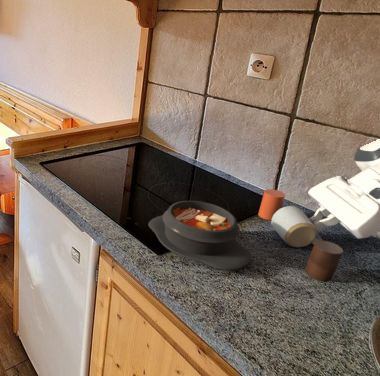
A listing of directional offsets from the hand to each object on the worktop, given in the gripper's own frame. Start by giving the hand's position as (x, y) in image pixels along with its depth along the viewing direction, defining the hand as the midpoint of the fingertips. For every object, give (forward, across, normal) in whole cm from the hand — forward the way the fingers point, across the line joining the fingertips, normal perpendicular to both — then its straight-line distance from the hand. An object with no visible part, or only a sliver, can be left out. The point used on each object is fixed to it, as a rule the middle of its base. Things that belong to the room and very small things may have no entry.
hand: (312, 225), depth 98 cm
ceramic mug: (+5, 0, +1) cm, 5 cm away
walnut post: (+6, +14, 0) cm, 15 cm away
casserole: (+23, +5, -17) cm, 29 cm away
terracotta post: (+6, -12, 0) cm, 14 cm away
